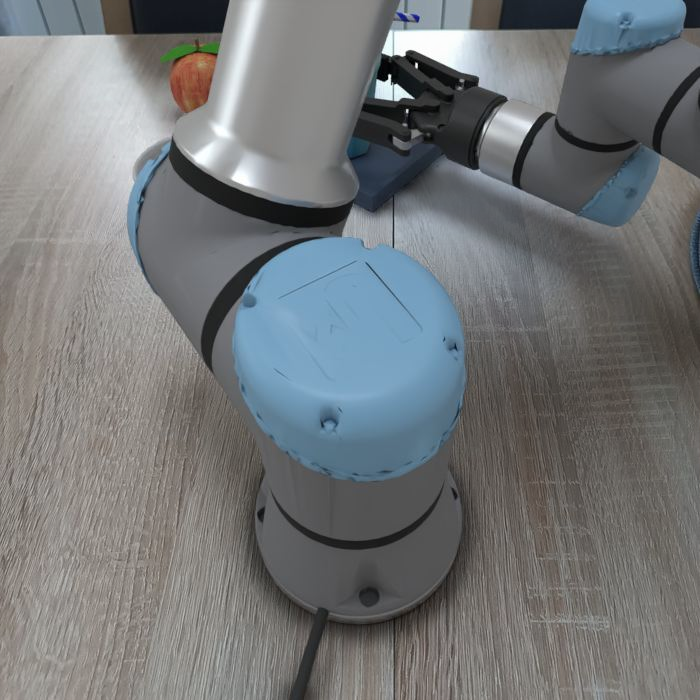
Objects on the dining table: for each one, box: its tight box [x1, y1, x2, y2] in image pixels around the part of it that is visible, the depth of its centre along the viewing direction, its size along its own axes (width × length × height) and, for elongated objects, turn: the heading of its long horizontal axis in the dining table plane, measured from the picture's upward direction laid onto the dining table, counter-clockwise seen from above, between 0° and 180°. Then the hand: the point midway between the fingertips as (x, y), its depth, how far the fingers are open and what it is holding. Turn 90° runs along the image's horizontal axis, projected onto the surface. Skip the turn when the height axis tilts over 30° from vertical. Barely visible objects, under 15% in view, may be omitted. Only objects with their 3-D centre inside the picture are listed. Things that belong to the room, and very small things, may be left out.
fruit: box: [159, 37, 220, 114], centre depth 81 cm, size 9×10×10 cm
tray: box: [349, 112, 444, 213], centre depth 79 cm, size 16×18×2 cm
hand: (319, 67), depth 74 cm, fingers closed on cup, 7 cm apart
